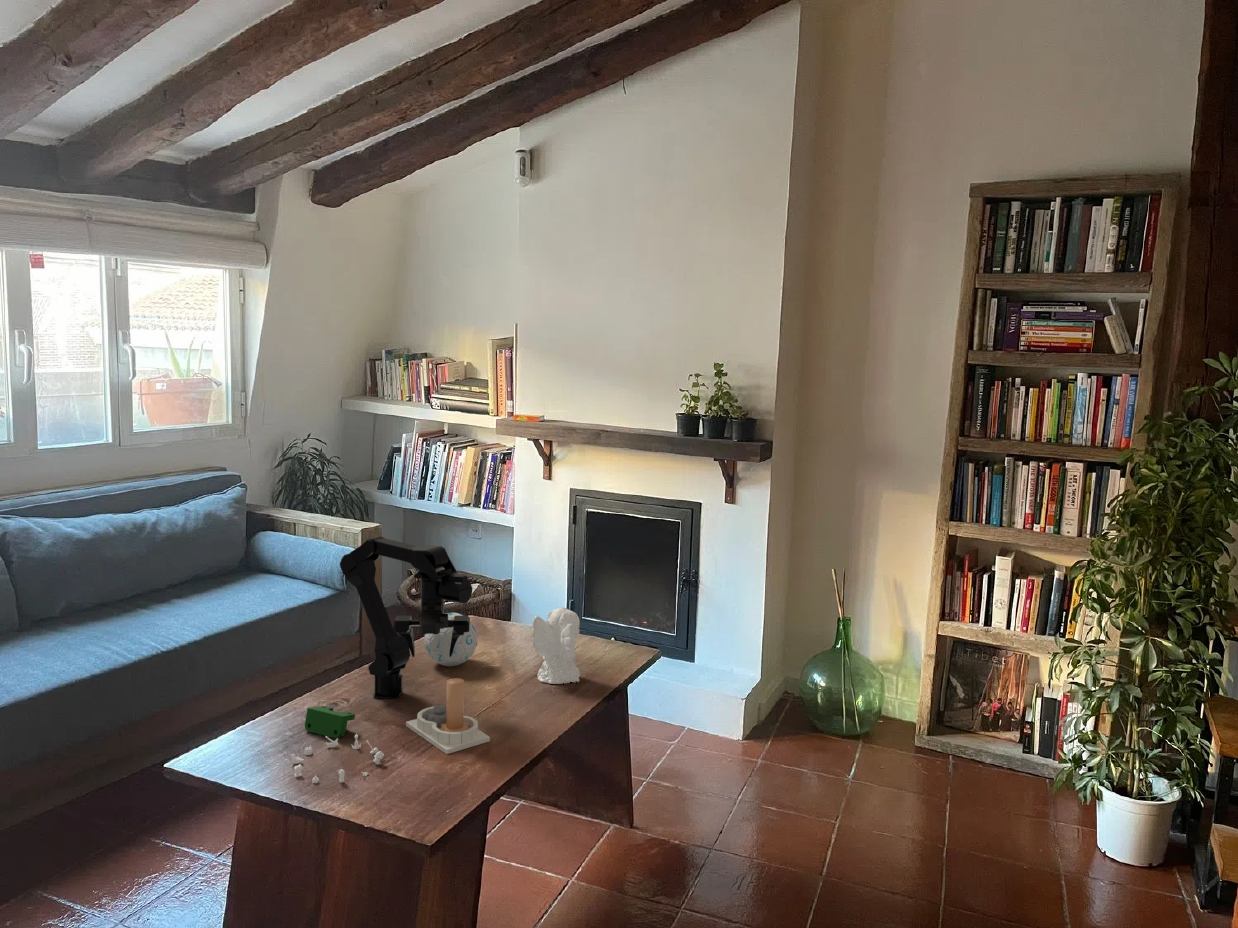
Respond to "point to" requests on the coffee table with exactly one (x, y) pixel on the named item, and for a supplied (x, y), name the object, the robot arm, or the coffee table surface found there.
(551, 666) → the cherub figurine
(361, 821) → the coffee table surface
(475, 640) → the puzzle ball
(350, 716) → the clamp
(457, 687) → the knob on notched ring
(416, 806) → the coffee table surface
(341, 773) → the game piece set
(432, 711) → the housing
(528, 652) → the coffee table surface
